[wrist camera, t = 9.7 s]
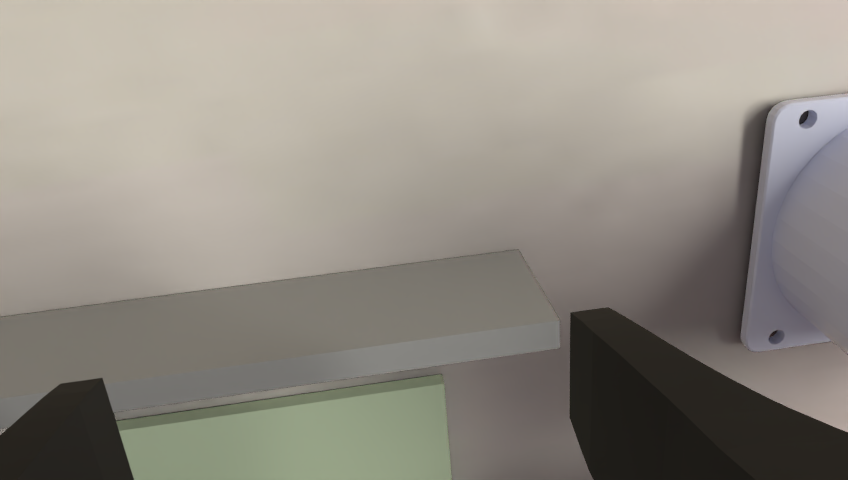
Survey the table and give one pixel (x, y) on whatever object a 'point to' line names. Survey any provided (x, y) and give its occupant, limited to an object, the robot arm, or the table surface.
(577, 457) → the table surface
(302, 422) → the green mat
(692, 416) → the robot arm
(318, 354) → the grey wall
